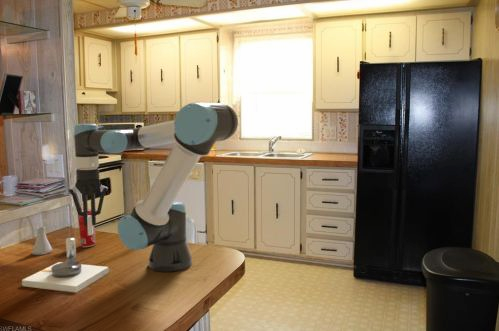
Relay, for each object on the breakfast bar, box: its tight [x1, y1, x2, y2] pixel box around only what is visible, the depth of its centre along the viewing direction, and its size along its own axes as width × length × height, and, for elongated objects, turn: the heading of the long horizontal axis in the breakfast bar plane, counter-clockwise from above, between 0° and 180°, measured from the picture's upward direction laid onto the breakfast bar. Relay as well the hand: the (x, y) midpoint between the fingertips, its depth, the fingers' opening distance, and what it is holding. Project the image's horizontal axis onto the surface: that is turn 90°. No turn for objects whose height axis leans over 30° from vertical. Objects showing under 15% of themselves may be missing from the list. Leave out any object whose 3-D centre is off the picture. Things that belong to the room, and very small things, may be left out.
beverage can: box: [77, 208, 97, 248], centre depth 177 cm, size 6×6×15 cm
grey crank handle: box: [51, 237, 82, 277], centre depth 146 cm, size 17×9×8 cm, turn 14°
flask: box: [31, 226, 54, 256], centre depth 170 cm, size 7×7×10 cm
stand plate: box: [21, 261, 110, 294], centre depth 142 cm, size 20×17×2 cm
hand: (90, 234), depth 154 cm, fingers closed
